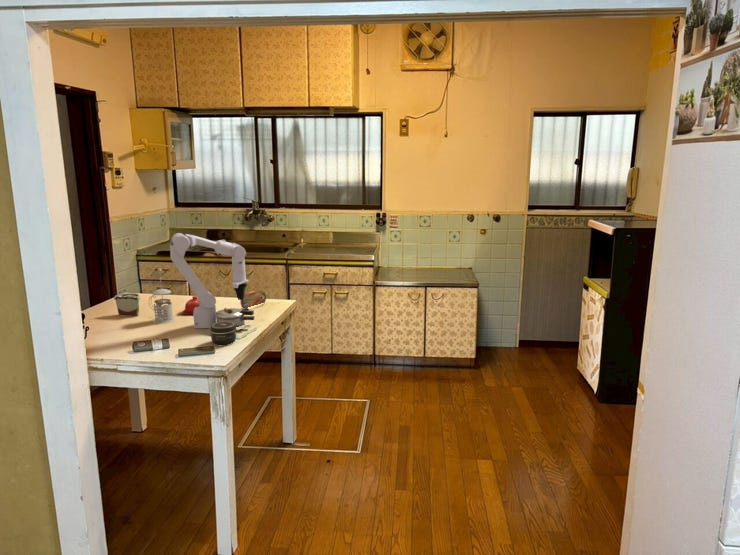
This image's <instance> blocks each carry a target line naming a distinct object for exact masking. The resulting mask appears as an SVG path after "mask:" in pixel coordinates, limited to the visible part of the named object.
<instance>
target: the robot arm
mask: <svg viewBox="0 0 740 555" xmlns="http://www.w3.org/2000/svg"><path fill="white" fill-rule="evenodd" d="M194 246H199V247H200V246H201V247H204V248H205V247H206V248H210V249H214V252H215V253H217V254H222V255H225V256H229V257H230V256H231V264H232V266H231V268H232V288H233V289H234V291H235V294H236V297H237V299H238V301H240V300H243V298H244V294H245V292H246V288H247V286H248V282H249V279H247V276H246V275H247V273H246V261H245V257H246V255H247V251H246V249H245V247H243V246H242V245H240V244H238V243H235V242H228V241H226V239H221V240H220V239H219V240H217V241H215V240H210V239H207V238H204V237H200V236H198V235H197V236H196V235H194V234H187V233H184V234H183V233H182V232H177V233H174V234H173V235H171V238H170V241H169V247H170V248H169V250H170V253H169V254H170V260H171V261H172V263H173V264H174V265H175V267H176V268H177V269H178V271H179V272H180V274H181V276H182V277H183V278H184V279H185V281H186V282H187V283H188V284H189V286H190V287H191V289H192V290H193V292H194V293H195V295H196V296H197V298H198V301H199V302H200V305H199V307H195V308H194V312H193V314H192V315H193V326H194V327H193V329H211V325H212V324H214V323H217V318H216V314H215V313H216V312H217V307H216V303H217V300H216V299H217V298H216V297H215V296H214V295H213V294H212V293H211V292H210V291H209V290H207V288H206V287H205V286H204V284H203V283H202V282H201V280H200V279H199V278H198V276H197V275H196V273H195V272H194V271H193V269H192V268H191V266H190V265H189V264H188V262H187V261H186V259H185V255H186V251H187V250H188V249H189V247H190V248H191V247H194Z"/></svg>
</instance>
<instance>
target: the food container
mask: <svg viewBox="0 0 740 555" xmlns="http://www.w3.org/2000/svg"><path fill="white" fill-rule="evenodd" d="M113 299H114V300H113V301H115V304H116V308H117V313H118V316H119V317H139V316H138V315H140V301H141V296H140V295H139V294H138V293H134V292H131V293H128V292H126V293H120V294H116V295H114V298H113Z"/></svg>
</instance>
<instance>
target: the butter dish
mask: <svg viewBox="0 0 740 555" xmlns="http://www.w3.org/2000/svg"><path fill="white" fill-rule="evenodd" d="M199 305H200V302H199V301H198V297H197V295H193V296H192V298H191V299H189V300H187V301H186V303H185V307H184V310H182V311H181V314H183V315H193V312H194V308H195V307H199Z"/></svg>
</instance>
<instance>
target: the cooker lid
mask: <svg viewBox="0 0 740 555" xmlns="http://www.w3.org/2000/svg"><path fill="white" fill-rule="evenodd" d="M254 311H255V310H253V309H250V310H247V309H243V308H235V307H233V308H232V307H231V308H227V307H224V308H223V309H219V310H216V313H215V314H216V317H218V318H222V319H231V318H238V317H241V316H243V315H244V316H254V314H255V312H254Z"/></svg>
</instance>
